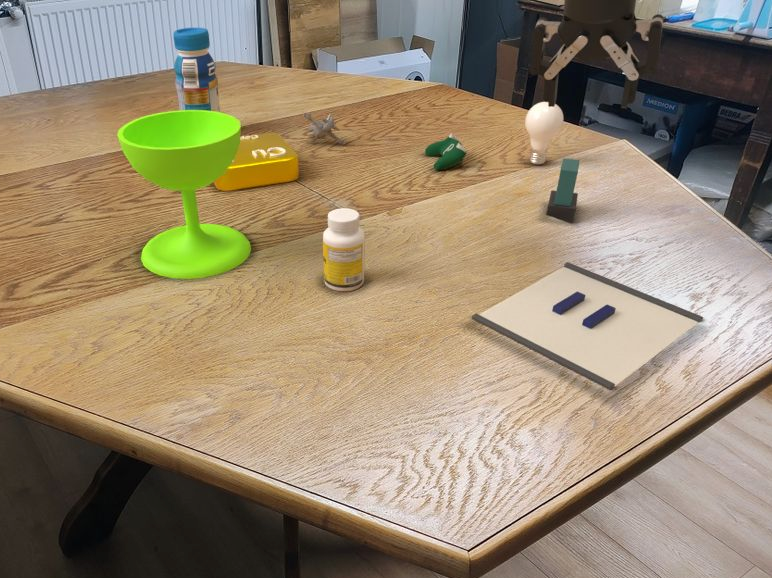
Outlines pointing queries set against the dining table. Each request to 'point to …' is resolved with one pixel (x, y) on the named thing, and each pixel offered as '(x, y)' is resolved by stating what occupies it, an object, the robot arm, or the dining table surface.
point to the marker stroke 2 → (598, 316)
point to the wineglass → (187, 187)
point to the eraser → (565, 193)
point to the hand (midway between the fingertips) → (587, 104)
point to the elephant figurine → (323, 128)
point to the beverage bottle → (195, 71)
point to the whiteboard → (579, 343)
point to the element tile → (260, 163)
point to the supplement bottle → (344, 251)
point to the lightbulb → (542, 129)
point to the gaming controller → (446, 152)
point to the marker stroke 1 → (568, 303)
